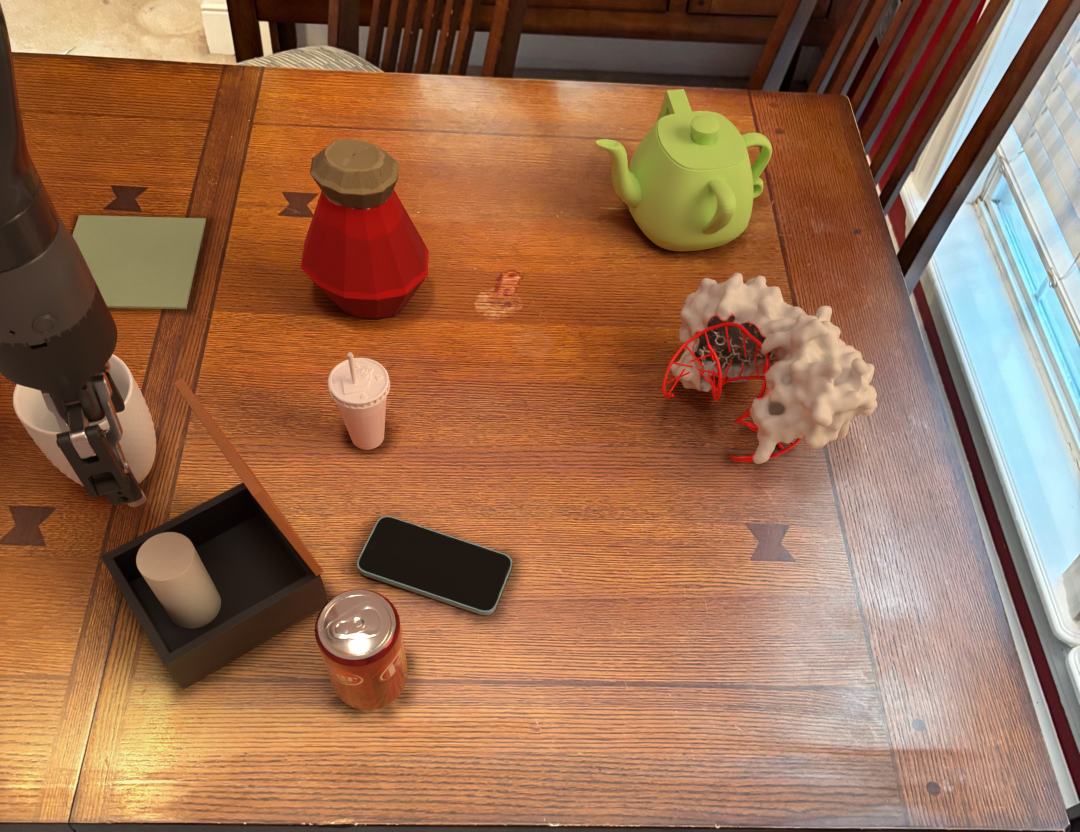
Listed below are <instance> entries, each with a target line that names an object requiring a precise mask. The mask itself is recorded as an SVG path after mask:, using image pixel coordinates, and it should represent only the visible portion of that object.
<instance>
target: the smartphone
mask: <svg viewBox="0 0 1080 832" xmlns="http://www.w3.org/2000/svg"><path fill="white" fill-rule="evenodd" d="M356 562H357V563H356V567H357V570H358V572H359V573H360V574H361V575H362V576H365V577H367V578H370V579H373V580H376V581H379V582H382V583H385V584H388V585H391V586H394V587H397V588H400V589H404V590H407V591H409V592H412V593H415V594H418V595H421V596H424V597H427V598H430V599H432V600H436V601H439V602H442V603H444V604H448V605H450V606H454V607H457V608H459V609H462V610H465V611H469V612H472V613H474V614H477V615H480V616H490V615H493V613H494V612H495V611H496V610H497V606H498V604H499V601H500V599H501V596H502V594H503V591H504V589H505V586H506V583H507V580H508V578H509V576H510V574H511V571H512V567H513V560H512V558H511V557H510V556H509V555H508V554H506V553H504V552H501V551H498V550H495V549H493V548H489V547H486V546H484V545H483V546H482V545H480V544H477V543H474V542H470V541H468V540H465V539H461V538H458V537H456V536H452V535H450V534H447V533H444V532H440V531H437V530H434V529H431V528H428V527H426V526H422V525H419V524H416V523H413V522H410V521H408V520H404V519H401V518H398V517H394V516H391V515H382V516H381V517H379V518H378V519H377V521H376V523H375V524H374V526H373V528H372V530H371V533H370V534H369V537H368V538H367V541H366V542H365V544H364V546H363V549H362V550H361V553H360V555H359V557H358V558H357V561H356Z"/></svg>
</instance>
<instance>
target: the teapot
mask: <svg viewBox="0 0 1080 832" xmlns="http://www.w3.org/2000/svg"><path fill="white" fill-rule="evenodd" d="M595 143H596V145H597V146H598V147H599V148H602V149H604V150H605V151H607V152H608V154H609V155H610V158H611V183H612V187H613V191H614V192H615V194H616V195H617V197H618V198H619V200H621V201H622V203H624V204H625V205H626V206H627V208H628V211H629V212H630V215H631V217H632V218H633V220H634V222H635V224H636V225H637V227H638V228H639V230H640V231H641V232H642V234H644V235H645V237H646V238H647V239H648V240H650V242H652V243H653V244H654V245H656V246H657V247H659V248H661V249H664V250H667V251H673V252H696V251H703V250H710V249H715V248H718V247H722V246H725V245H727V244H728V243H731V242H732V241H733V240H735V239H737V238H738V237H739V236H741V234H742V233H744V231H745V230H746V229H747V227H748V225H749V223H750V220H751V216H752V213H753V207H754V206H753V205H754V199H757V198H758V197H760V196H761V195H762V194H763V192H764V187H765V186H764V181H763V179H762V178H761V177H760V176H761V175H762V173H763V172H764V171H765V169H766V167H767V166H768V164H769V163H770V160H771V158H772V154H773V147H772V143H771V141H770V140H769V138H768V137H766V136H765V134H763V133H760V132H755V131H753V132H747V133H743V134H741V132H740V130H739V129H738V128H737V127H736V126H735V124H734V123H733V122H732V121H731V120H730V119H728V118H727V117H726V116H724V115H722V114H721V113H718V112H716V111H710V110H693V109H692V107H691V104H690V101H689V98H688V96H687V93H686V90H685V89H684V88H677V89H666V91H665V94H664V98H663V100H662V103H661V107H660V109H659V113H658V116H657V118H656V122H655V123H654V124H653V125H652V126H651V128H650V129H649V130H648V131H647V133H646V134H645V135H644V137H643V138H642V139H641V141H640V142H639V143H638V145H637V147H636V149H635V151H634V153H633V154H632V157H631V160H630V161H628V155H627V151H626V149H625V147H624V145H623V144H622V143H621V142H619V141H617V140H615V139H609V138H608V139H607V138H604V139H603V138H601V139H598V140H596V141H595ZM754 146H758V147H761V150H760V152H759V154H758V155H757V158H756V159H755V161H754V162H753V163H752V164H751V160H750V155H749V151H748V148H749V147H754ZM628 162H629V163H628Z"/></svg>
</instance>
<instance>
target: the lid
mask: <svg viewBox="0 0 1080 832" xmlns="http://www.w3.org/2000/svg"><path fill="white" fill-rule="evenodd" d="M173 385H174V386H175V387H176V389H177V390H178V392H179V393H180V395H181V397H183V399H184V400H185V402H186V403H187V405H188V406H189V407H190V409H191V410H192V412H193V413H194V415H195V416H196V417H197V419H198V421H200V423H201V425H202V426H203V428H204V429H205V430H206V432H207V433H208V434H209V436H210V437H211V439H212V440H213V441H214V443H215V444H216V446H217V447H218V449H219V450H220V452H221V453H222V454H223V456H224V458H225V459H226V460H227V462H228V463H229V464H230V466H231V467H232V468H233V470H234V472H235V473H236V474H237V476H238V477H239V479H240V480H241V481H242V483H244V484H245V486H246V487H247V488H248V490H249V491H250V493H251V494H252V496H253V497H254V498H255V499H256V501H257V502H258V503H259V504H260V506H261V507H262V508H263V509H264V511H265V512H266V513H267V515H268V516H269V517H270V518H271V520H272V521H273V522H274V523H275V525H276V526H277V527H278V528H279V530H280V531H281V532H282V533H283V535H284V536H285V537H286V538H287V540H288V541H289V542H290V543H291V545H292V546H293V547H294V549H295V550H296V551H297V552H298V554H299V555H300V556H301V557H302V559H303V560H304V561H305V562H306V564H307V565H308V566H309V567H310V569H311V570H312V571H313V572H314V574H315V575H316V576H318V575H319V574H320V575H321V574H322V573H323V572H324V570H323V569H322V567H321V565H320V564H319V563H318V562H317V560H316V559H315V557H314V556H313V554H312V553H311V552H310V550H309V549H308V547H307V546H306V545H305V543H304V542H303V540H302V539H301V537H300V536H299V535H298V533H297V532H296V530H295V529H294V528H293V526H292V525H291V524H290V522H289V521H288V520H287V518H286V516H285V515H284V514H283V512H282V511H281V510H280V508H279V506H278V505H277V503H276V502H275V501H274V500H273V498H272V497H271V495H270V494H269V492H268V491H267V490H266V488H265V487H264V485H263V484H262V483H261V482H260V479H258V477H257V476H256V474H255V473H254V471H253V470H252V469H251V468H250V466H249V465H248V464H247V462H246V461H245V460H244V459H243V457H242V456H241V454H240V453H239V452H238V451H237V449H236V448H235V446H234V445H233V444H232V442H231V441H230V440H229V439H228V437H227V435H226V434H225V433H224V432H223V430H222V429H221V428H220V426H219V425H218V424H217V423H216V421H215V420H214V418H213V417H212V416H211V414H210V413H209V412H208V411H207V409H206V408H205V407H204V405H203V404H202V402H201V401H200V400H199V398H197V396H196V395H195V394H194V392H193V391H192V390H191V388H190V387H189V385H188V384H187V382H186V381H185V380H184V379H183V378H182V377H180V378H178V379H177V380H175V381H174V382H173Z"/></svg>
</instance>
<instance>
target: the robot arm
mask: <svg viewBox="0 0 1080 832" xmlns="http://www.w3.org/2000/svg"><path fill="white" fill-rule="evenodd" d="M9 34H10V33H9V31H8V26H7V21H6V17H5V13H4V10H3V7H2V4H1V2H0V374H1V375H2V376H3V377H4V378H5V379H7V380H8V381H10V382H12V383H13V384H18V385H21V386H24V387H28V388H32V389H36V390H40V391H41V393H42V396H43V399H44V401H45V404H46V406H47V408H48V410H49V411H50V412H52V413H53V414H54V415H55V417H56V420H57V422H58V425H59V427H60V430H61V432H62V433H58V434H56V437H57V440H56V443H57V445H58V447H59V448H60V449H61V451H62V452H63V454H64V455H65V457H66V459H67V460H68V462H69V463H70V465H71V467H72V468H73V470H74V471H75V473H76V475H77V476H78V478H79V479H80V481H81V483H82V484H83V486H84V487H83V486H82V487H83V488H84V489H85V492H86V494H87V495H88V496H89V497H90V498H91V499H95V498H99V497H100V496H104V495H105V497H106V498H107V500H108V502H109V503H110V505H112V506H115V507H120V506H124V505H128V503H132V502H136V501H137V500H140V499H141V498H142V492H143V490H142V487H141V485H140V483H139V484H138V482H137V480H136V478H135V477H134V475H133V473H132V471H131V470H130V468H129V463H128V461H126V460H125V457H124V454H123V452H122V449H121V446H120V444H119V441H120V440H121V437H122V435H123V430H122V427H121V424H120V422H119V419H118V416H117V414H116V413H119V412H122V411H124V409H125V405H124V400H123V398H122V396H121V394H120V392H119V391H118V389H117V387H116V385H115V383H114V381H113V379H112V377H111V375H110V373H109V372H110V368H111V367H110V364H109V361H108V360H109V359H110V357H111V356H112V354H113V355H114V352H115V350H116V347H117V344H118V327H117V325H116V322H115V319H114V318H113V315H112V313H111V311H110V308H108V307H107V305H106V303H105V301H104V299H103V296H102V294H101V292H100V290H99V288H98V286H97V284H96V282H95V280H94V278H93V275H92V273H91V271H90V269H89V267H88V265H87V263H86V261H85V259H84V257H83V255H82V252H81V250H80V248H79V246H78V245H77V243H76V241H75V239H74V238H73V236H72V235H73V234H72V233H71V231H70V230H69V228H68V227H67V226H66V224H65V222H64V221H63V219H62V218H61V217H60V215H59V213H58V211H57V209H56V207H55V205H54V202H53V201H52V199H51V196H50V195H49V193H48V191H47V188H46V186H45V184H44V182H43V181H42V178H41V176H40V174H39V173H38V170H37V168H36V165H35V164H34V162H33V159H32V157H31V155H30V153H29V150H28V145H27V139H26V134H25V127H24V122H23V117H22V112H21V108H20V102H19V101H20V100H19V95H18V87H17V80H16V73H15V65H14V59H13V58H14V57H13V53H12V52H13V51H12V45H11V40H10V35H9ZM105 416H106V418H107V421H108V423H109V428H108V429H106V430H103V429H101V428H100V426H99V425H98V424H96V425H92V426H90V425H89V423H93V422H97V421H100V420H102V419H103V418H104V417H105ZM141 490H142V491H141Z"/></svg>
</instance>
